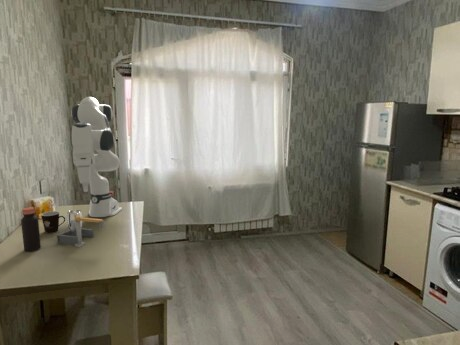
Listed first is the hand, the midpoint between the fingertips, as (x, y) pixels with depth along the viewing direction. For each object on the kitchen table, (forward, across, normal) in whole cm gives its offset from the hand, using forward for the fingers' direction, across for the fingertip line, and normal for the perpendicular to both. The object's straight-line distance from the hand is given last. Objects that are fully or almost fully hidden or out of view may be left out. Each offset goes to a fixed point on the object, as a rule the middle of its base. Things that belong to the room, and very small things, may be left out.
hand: (86, 189), depth 144 cm
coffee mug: (+30, -34, -20) cm, 49 cm away
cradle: (+29, -16, -7) cm, 34 cm away
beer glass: (+30, -17, -7) cm, 35 cm away
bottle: (+30, -12, -26) cm, 41 cm away
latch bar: (+19, -5, 0) cm, 20 cm away
